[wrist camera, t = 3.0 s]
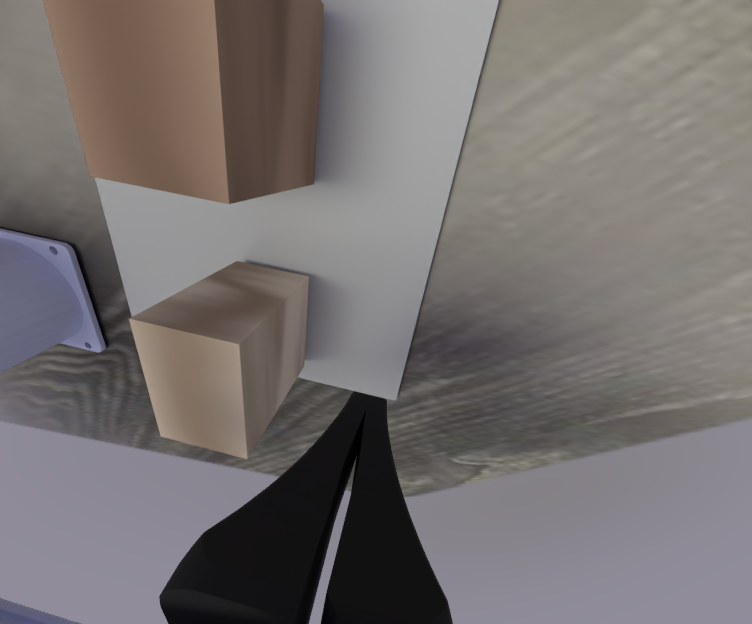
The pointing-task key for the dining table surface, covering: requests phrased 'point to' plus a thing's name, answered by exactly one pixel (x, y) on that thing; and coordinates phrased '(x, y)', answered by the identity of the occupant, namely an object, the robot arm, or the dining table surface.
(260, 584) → the robot arm
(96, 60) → the walnut block
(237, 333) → the beech block
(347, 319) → the grey mat
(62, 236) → the dining table surface
